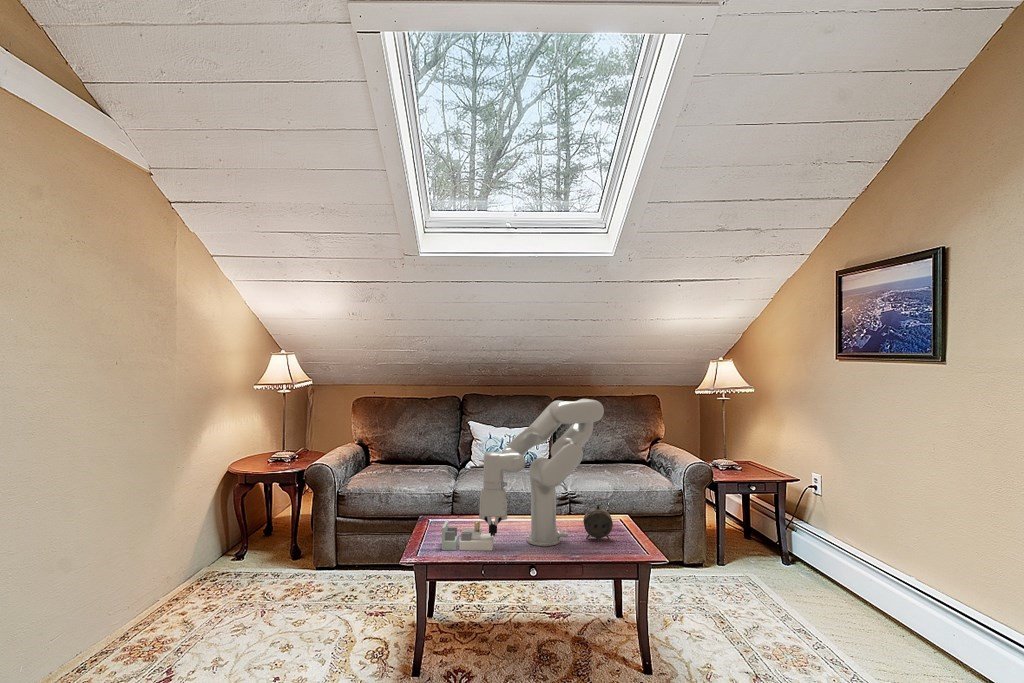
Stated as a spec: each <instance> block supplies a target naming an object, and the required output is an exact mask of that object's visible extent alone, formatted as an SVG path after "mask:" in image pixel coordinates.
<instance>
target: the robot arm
mask: <svg viewBox="0 0 1024 683" xmlns="http://www.w3.org/2000/svg"><path fill="white" fill-rule="evenodd" d="M604 414H605V408H604V406H603V404H602V403H601V402H600V401H598V400H596V399H589V398H581V399H578V400H575V401H567V400H566V401H564V400H560V399H559V400H558V399H557V400H554V401H552V402H550V403H549V405H547V406H546V407H545V409H544V410H543V411H542V412H541V413H540V415H538V417H537V418H536V419H535V420H534V421H533V422H532V423H531V424H530V425H529V426H528V427H526V428H525V429H524V430H523V431H522V432H520V433H519V434H518V435H516V436H515V437H514V438H513V439H512V440H511V441H510V442H509V443H508V444H507V445H506V447H504V449H503V450H502V451H501V452H500V451H487V452H485V453H484V455H483V487H482V488H481V491H480V497H479V515H478V519H479V520H482V521H485V522H486V523H487V525H488V534H491V536H494V537H496V534H497V533H498V525H499V523H500V522H501V521H505V520H508V514H507V513H508V502H507V501H508V500H507V498H508V497H507V490H506V488H505V487H508V482H505V480H504V479H505V478H504V473H505V472H506V473H507V472H508V473H519V472H521V471H523V470H524V468H525V466H526V462H527V461H526V459H525V456H524V455H525V454H526V453H527V452H528V451H529V450H531V449H532V448H533V447H535V446H539V445H541V444H543V443H545V442H547V441H548V440H549V439H550V437H552V435H553V434H554V433H555V432H556V431H557V429H559V428H560V426H561V425H562V424H564V425H570V426H569V428H568V429H567V430H566V431H565V432H564V433H563V434H562V435H561V436H560V437H559V438H558V439H557V440H556V441H555V442H554V443H553V444H552V446H551V448H550V455H551V457H550V459H549V458H547V457H537V458H535V459H534V460H532V462H531V463H530V465H529V474H528V475H529V483H530V496H531V497H530V519H531V521H530V522H531V526H530V527H531V528H530V529H531V530H530V531H531V532H530V533H531V534H530V535H529V536H528V537H527V538H526V540H527V542H528V544H531V545H534V546H537V547H538V546H539V547H549V546H555V545H558V544H559V543H560V542H561V538H569V532H568V531H565V530H559V529H558V527H557V492H556V487H557V486H559V485H561V483H563V482H564V481H565V480H566V479H568V477H569V476H570V475H571V474H572V473H573V472H574V471H575V470H576V469H577V468H578V467H579V465H580V464H581V462H582V460H583V456H584V451H583V448H582V447H583V446H584V445H585V444H586V443H587V442H588V441H589V440H590V438H591V436H592V434H593V429H594V423H597V422H599V421H600V420H601V419H602V418H603V416H604ZM492 518H494V521H493V520H492Z"/></svg>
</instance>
